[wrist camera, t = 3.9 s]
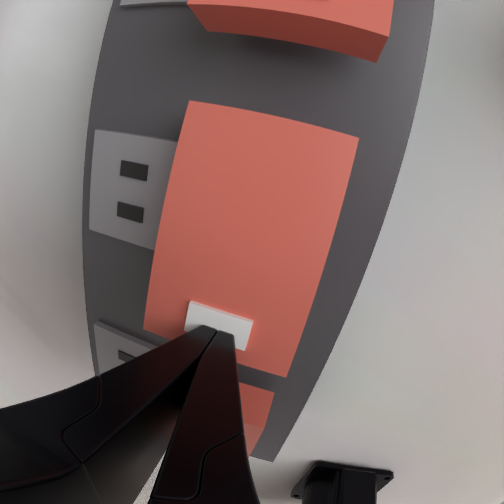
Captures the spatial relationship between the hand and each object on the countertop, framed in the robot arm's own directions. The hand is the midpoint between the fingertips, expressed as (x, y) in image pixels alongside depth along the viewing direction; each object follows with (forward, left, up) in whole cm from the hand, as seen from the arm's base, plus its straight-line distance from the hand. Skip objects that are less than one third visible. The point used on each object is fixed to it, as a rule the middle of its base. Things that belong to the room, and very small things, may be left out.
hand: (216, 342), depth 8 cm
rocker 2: (+3, 0, -1) cm, 3 cm away
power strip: (+8, +2, -7) cm, 10 cm away
